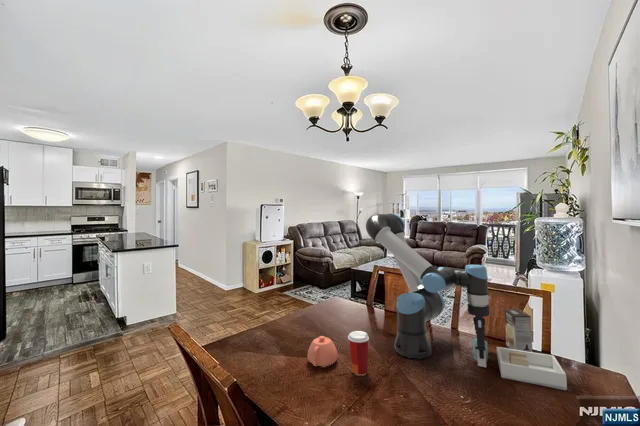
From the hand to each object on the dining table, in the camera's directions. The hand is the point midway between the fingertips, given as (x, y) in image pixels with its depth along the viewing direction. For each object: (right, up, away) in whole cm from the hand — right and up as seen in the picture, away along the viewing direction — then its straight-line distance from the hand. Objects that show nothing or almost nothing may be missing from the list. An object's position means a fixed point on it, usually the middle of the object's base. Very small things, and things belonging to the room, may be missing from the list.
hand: (481, 358), depth 108 cm
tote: (+10, +1, -11) cm, 15 cm away
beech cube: (+8, +1, -10) cm, 13 cm away
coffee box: (+19, 0, +6) cm, 20 cm away
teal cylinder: (0, 0, 0) cm, 0 cm away
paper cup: (-49, -2, -7) cm, 50 cm away
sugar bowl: (-64, -3, +1) cm, 64 cm away
